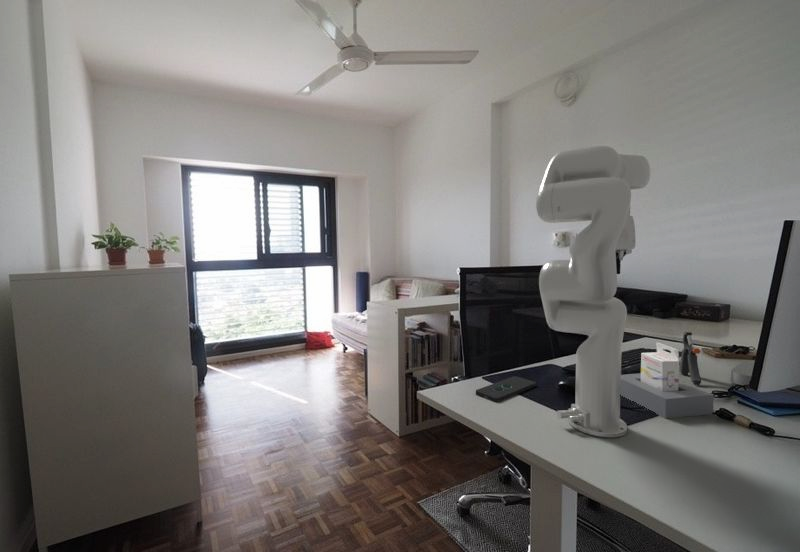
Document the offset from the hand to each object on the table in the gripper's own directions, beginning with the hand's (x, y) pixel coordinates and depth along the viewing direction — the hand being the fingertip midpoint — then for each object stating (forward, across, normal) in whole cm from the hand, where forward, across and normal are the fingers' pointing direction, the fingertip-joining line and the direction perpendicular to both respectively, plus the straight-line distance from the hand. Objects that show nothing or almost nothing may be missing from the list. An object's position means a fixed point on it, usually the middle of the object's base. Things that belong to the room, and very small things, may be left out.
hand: (613, 273), depth 110 cm
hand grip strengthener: (+35, +30, +2) cm, 46 cm away
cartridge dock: (+35, +6, -11) cm, 37 cm away
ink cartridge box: (+34, +6, -10) cm, 36 cm away
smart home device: (+36, -31, +6) cm, 48 cm away
